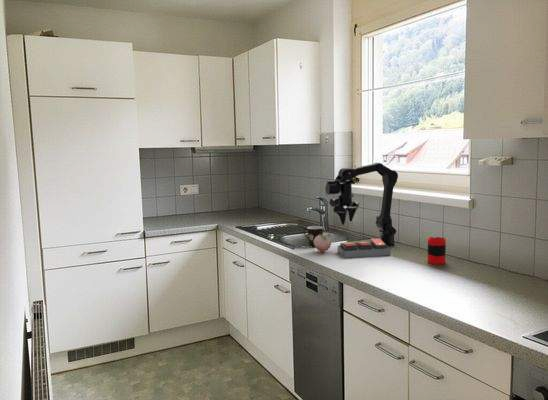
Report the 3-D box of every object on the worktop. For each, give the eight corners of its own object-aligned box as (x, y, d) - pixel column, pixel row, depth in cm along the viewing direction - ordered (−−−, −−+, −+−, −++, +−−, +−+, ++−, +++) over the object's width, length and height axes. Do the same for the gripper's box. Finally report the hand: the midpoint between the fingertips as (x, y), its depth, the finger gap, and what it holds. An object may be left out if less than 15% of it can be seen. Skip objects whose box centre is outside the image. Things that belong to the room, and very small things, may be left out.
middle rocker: (365, 244, 234) (365, 241, 234) (370, 244, 226) (370, 242, 226) (356, 244, 234) (356, 242, 234) (361, 245, 226) (361, 242, 226)
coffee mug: (326, 246, 248) (326, 228, 247) (311, 248, 245) (311, 229, 244) (316, 242, 259) (316, 224, 257) (302, 244, 256) (302, 226, 254)
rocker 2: (379, 240, 235) (379, 238, 235) (385, 246, 228) (385, 244, 227) (371, 241, 235) (371, 238, 234) (376, 247, 227) (376, 244, 227)
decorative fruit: (334, 253, 234) (334, 233, 232) (320, 255, 230) (320, 235, 229) (325, 249, 242) (324, 230, 241) (311, 251, 239) (310, 232, 237)
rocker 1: (350, 245, 233) (350, 242, 233) (355, 245, 225) (355, 243, 226) (342, 245, 233) (341, 242, 233) (346, 246, 225) (346, 243, 225)
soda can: (430, 265, 208) (430, 238, 206) (425, 260, 215) (425, 235, 214) (447, 264, 208) (448, 238, 206) (442, 260, 215) (442, 234, 213)
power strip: (381, 249, 238) (381, 240, 237) (390, 255, 226) (390, 245, 226) (337, 252, 235) (337, 242, 235) (344, 258, 223) (344, 248, 223)
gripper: (339, 190, 251) (340, 219, 253) (323, 195, 236) (324, 225, 238) (359, 190, 245) (359, 220, 247) (343, 195, 229) (344, 226, 232)
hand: (347, 223), depth 241 cm, fingers open, 9 cm apart
